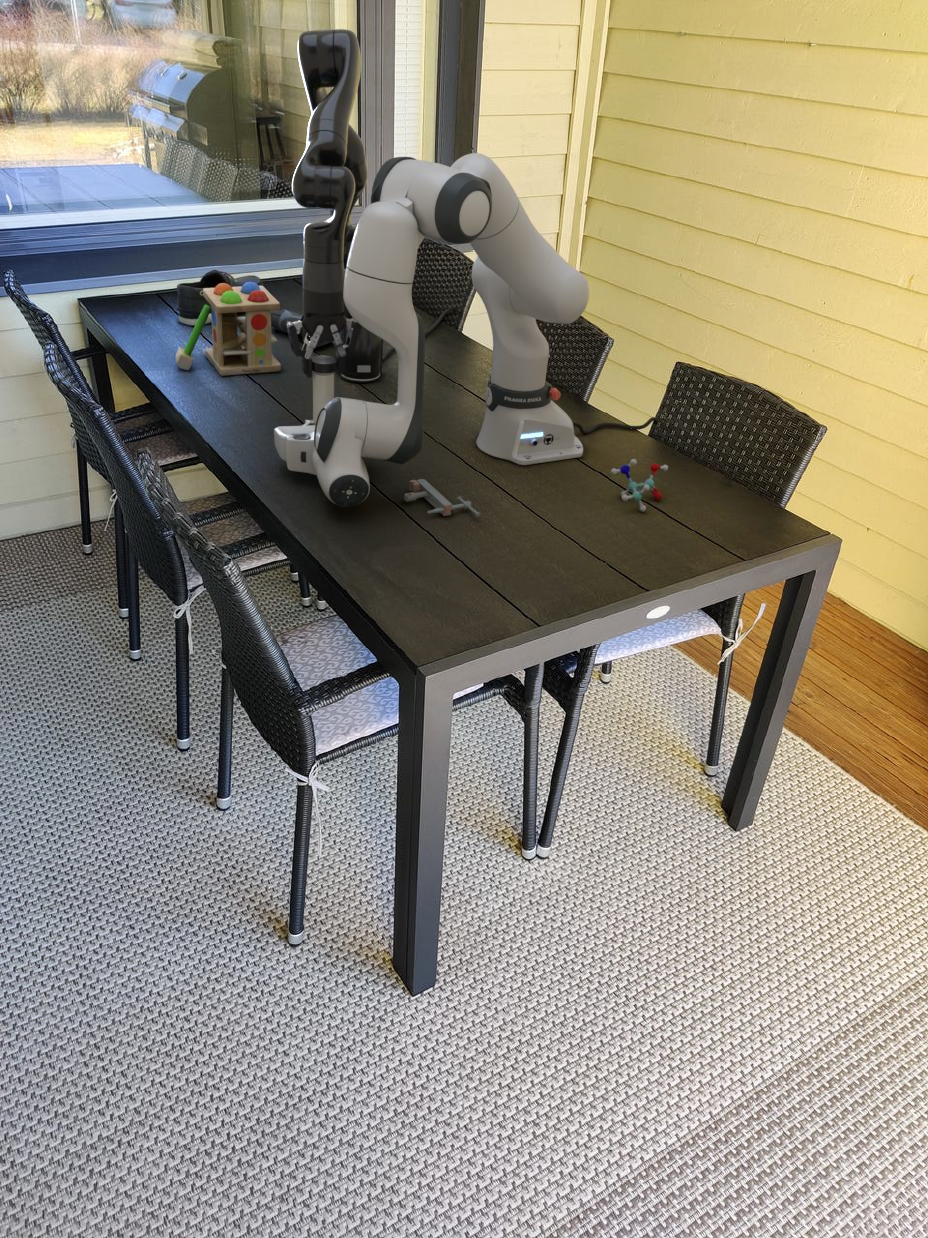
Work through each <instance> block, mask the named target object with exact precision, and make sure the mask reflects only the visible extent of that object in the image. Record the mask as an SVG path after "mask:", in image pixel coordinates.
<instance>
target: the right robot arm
mask: <svg viewBox="0 0 928 1238" xmlns="http://www.w3.org/2000/svg"><path fill="white" fill-rule="evenodd" d="M355 227H356V230H355V233H354V236H353V240H352V243H351V247H350V251H349V255H348V261H347V267H346V270H344V271H345V278H344V289H343V298H344V302H345V305H346V307H347V309H348V311H349V313H350V314H351V316H352V317H353V318H354V319H355V320H356V321H357V322H358V323H359V324H360V325H362V326H363V327H364V328H366V329H367V330H369V331H370V332H372V333H373V334H375V335H377V336H378V337H380V338H382V339H383V341H384V342H386V343H388V345H390V346H392V348H393V347H394V349H395V352H396V355H397V358H398V359H397V360H398V367H397V369H398V370H397V398H396V401H395V402H394V403H392V404H386V403H381V402H373V401H366V400H363V399H356V398H349V397H340V396H336V397H334V399H332V400H331V401H330V402H328V403H327V404H326V405H325V406H324V407H323V408H322V409H321V411H320V412H319V414H318V417H317V421H316V425H314V422H313V419H305V420H304V423H303V424H302V425H285V426H284V425H281V426H277V427H275V428H274V429H273V442H274V447H275V450H276V452H277V454H278V455H279V457H280V459H282V460H283V461H284V462H286V468H287V470H288V471H291V472H298V473H304V474H305V473H306V474H310V475H314V476H316V478H317V480H318V481H317V482H318V484H319V486H320V488H321V490H322V493H323V494H324V495H325V497H326V498H327V499H328V500H329V501H330V502H331V503H333V504H335V505H336V506H339V507H344V508H345V507H347V508H348V507H350V508H351V507H355V506H357V505H359V504H361V503H363V502H364V501H365V500H366V499H367V498H368V496H369V495H370V491H371V483H370V481H371V480H370V476H369V472H368V469H367V466H366V464H365V462H364V459H363V458H369V459H376V460H382V461H386V462H390V463H394V464H398V465H404V464H406V463H408V462H409V461H411V460H413V459H414V458H415V457H416V456H418V455H419V454H420V452H421V451H422V447H423V442H424V412H423V409H424V408H423V407H424V405H423V404H424V385H425V383H424V382H425V359H426V358H425V356H426V336H425V332H426V331H425V325H424V322H423V321H424V320H423V318H422V317H421V316H420V315H419V314H418V313H417V312H416V311H415V308H414V304H413V303H414V302H413V298H412V297H413V295H412V289H413V283H414V279H415V272H416V266H417V257H418V249H419V248H420V245H421V243H422V242H423V241H424V239H425V236H426V237H429V238H433V239H439V240H443V241H445V242H447V243H450V244H458V245H459V244H460V245H463V244H470V246H471V247H472V249H473V251H474V252H475V255H476V258H475V260H474V262H473V264H472V267H471V268H472V269H471V282H472V286H473V288H474V290H475V292H476V293H477V294H478V296H479V297H480V299H481V300H482V302H483V305H484V307H485V310H486V313H487V316H488V320H489V323H490V328H491V334H492V359H491V370H490V371H491V372H490V376H489V377H488V381H487V387H486V391H485V406H486V409H485V413H484V418H483V421H482V425H481V428H480V431H479V434H478V436H477V438H476V441H475V444H476V446H477V447H478V448H479V450H480V451H482V452H483V453H485V454H487V455H489V456H492V457H494V458H499V459H503V460H507V461H510V462H513V463H515V464H517V465H519V466H520V465H521V466H528V465H536V464H542V463H548V462H555V461H562V460H563V461H564V460H569V459H576V458H582V456H583V455H584V446H583V444H582V442H581V440H580V439H579V438H578V437H577V436H576V435H575V429H576V428H578V430H579V432H580V433H581V434H583V435H589V434H591V433H593V432H595V431H597V430H598V429H600V428H605V427H606V428H607V427H609V428H618V429H624V430H632V431H633V430H634V431H638V430H639V431H640V430H644V429H645V428H648V426H650V425H651V424H652V423H653V422H654V423H656V424H658V423H659V420H658V419H657V417H655V416H652V417H650V418H649V419H648V420H647V421H646V422H645V423H643V424H641V425H630V424H629V425H628V424H622V423H617V422H600V423H598V424H595V425H594V426H592V427H591V428H589V429H584V427H583V425H582V424H581V423H579V422H575V421H573V420H572V419H571V417H570V416H569V414H568V413H567V412H566V411H565V410H564V409H562V408H561V407H560V406H559V405H558V404H557V403H555V402H554V401H558V400H559V399H560V398H561V397H562V396H561V394H562V393H561V391H559V389H558V388H556V387H554V386H553V385H552V384H551V383H549V382H548V381H547V379H546V378H547V371H548V363H549V356H550V345H549V342H548V341H547V338H546V337H545V336H544V334H543V333H542V331H541V330H540V329H539V326H538V324H537V320H539V321H542V322H543V323H548V324H549V323H550V324H559V325H569V324H572V323H574V322H575V321H577V320H578V319H579V318H580V317H582V315H583V314H584V311H585V310H586V308H587V305H588V303H589V299H590V285H589V282H588V278H587V277H586V275H584V273H582V272H580V271H579V270H577V269H576V268H575V267H573V265H571V264H570V263H569V262H568V261H567V260H566V259H564V258H563V257H562V256H561V254H560V253H559V252H558V251H556V249H555V248H554V247H553V246H552V245H551V244H550V243H549V242H548V240H547V239H546V238H545V237H544V236H543V235H542V234H541V233H540V232H539V231H538V229H537V227H535V226H534V224H533V223H532V221H531V219H530V218H529V215H528V213H527V212H526V210H525V208H524V206H523V204H522V202H521V200H520V198H519V196H518V195H517V193H516V191H515V189H514V187H513V186H512V184H511V182H510V181H509V179H508V178H507V177H506V175H505V174H504V172H503V171H502V170H501V169H500V168H499V166H498V165H497V164H496V163H495V162H494V160H493V159H492V158H490V156H487V155H485V154H483V153H479V152H472V153H467V154H465V155H463V156H461V157H459V158H458V159H456V160H455V161H454V162H453V164H451V166H448V165H445V164H442V163H439V162H433V161H429V160H428V161H427V160H422V159H416V158H415V157H412V156H396V157H395V156H394V157H392V158H390V159H388V160H386V161H385V162H384V163H383V164H382V165H381V166H380V168H379V169H378V171H377V173H376V174H375V177H374V181H373V183H372V188H371V195H370V204H368V205H367V206H366V207H365V208H364V209H362V211H361V214H360V216H359V219H358V221H357V225H356V226H355ZM655 419H657V420H655ZM631 428H632V429H631Z"/></svg>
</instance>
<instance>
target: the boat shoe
mask: <svg viewBox="0 0 928 1238" xmlns="http://www.w3.org/2000/svg"><path fill="white" fill-rule="evenodd" d="M247 282H254V283H256V284H257V285H258V286H263V287H264V288H265V285H264V283H263V281H262V279H261V278H260V276H257V275H253V274H252V275H244V276H238V277H234V276H232V275H231V274H230V273H228V272H226V271H222V270H218V269H212V270H209V271H208V272H206V273H205V274H203V276H202V277H201V278H200V280H199V281H193V282H181V283H178V284H177V285H176V290H177V300H176V301H177V305H176V307H175V308H176V311H178V321H179V322H180V323H182V324H184V325H187V326H195V324H196V322H197V320H198V318H199V316H200V314H201V311H202V309H203V307H204V305H208V306H210V307H211V305H210V304H209V302H208V301H207V300H206V299H205V297H204V296H203V289H204V288H215V287H216V286H217V285H218V284H221V283H226V284H228V285H230V286H231V287H242V286H243V285H244V284H245V283H247ZM209 314H211V310H210V312H209ZM210 323H212V322H211V321H210V320H209V318H207V320H206V322H205V325H208V324H210Z"/></svg>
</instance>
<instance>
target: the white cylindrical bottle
mask: <svg viewBox="0 0 928 1238" xmlns="http://www.w3.org/2000/svg"><path fill="white" fill-rule="evenodd" d="M335 375H336V373H335V372H333V373H327V374H323V373H317V372H314V371H312V420H313V422H314V425H316V421H317V417H318V414H319V412H320V411H321V409H322V408H323V407H324V406H325V405H326V404H327V403H328V402H330V401H331V400H332V399H334V398H335Z"/></svg>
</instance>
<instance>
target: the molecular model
mask: <svg viewBox="0 0 928 1238" xmlns="http://www.w3.org/2000/svg"><path fill="white" fill-rule="evenodd" d="M637 463H638V461H637V459H636V458H631V460H630V461H629V464H627V465H626V464H624V465H622V466H621V467H620V468H618V469H617V468H615V467H612V468H611V469H610V474H611V475H613V476H615V475H617V473H621V474H623V475H625V477H626V478H627V481H628V485H627V489H626V490H622V491H621V492H620V496H621V501H623V502H627V501H628V500H631V499H633V500H634V501H636V502H637V504H638V505H639V511H640V512H642V513H644V512H645V511H646V510H647V506H646V505H644V504H643V501H642V498H643V493H645V492H649V491H650V492H651V493H652V496H653V499H654V500H657V501H659V500H661V499H662V496H663V494H662V492H660V491H658V489H657V488H656V486H655V481H654V476H655V473H656V472H657V471H659V470H662V471H663V472H667V471H668V470H669V465H667V464H663V465H659V464H658V463H656V462H655V463H652V464H651V465H650V470H651V472H650V475H649V478H647V479H646V480H645V481H644V482H640V483H638V482H636V481H633V480H632V477H631V475H630V471H631V470H630V468H632V466H636V465H637ZM638 488H642V489H641V490H640V491H639V490H638ZM630 492H632V494H631V495H630V494H629V493H630ZM628 494H629V495H628Z"/></svg>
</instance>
